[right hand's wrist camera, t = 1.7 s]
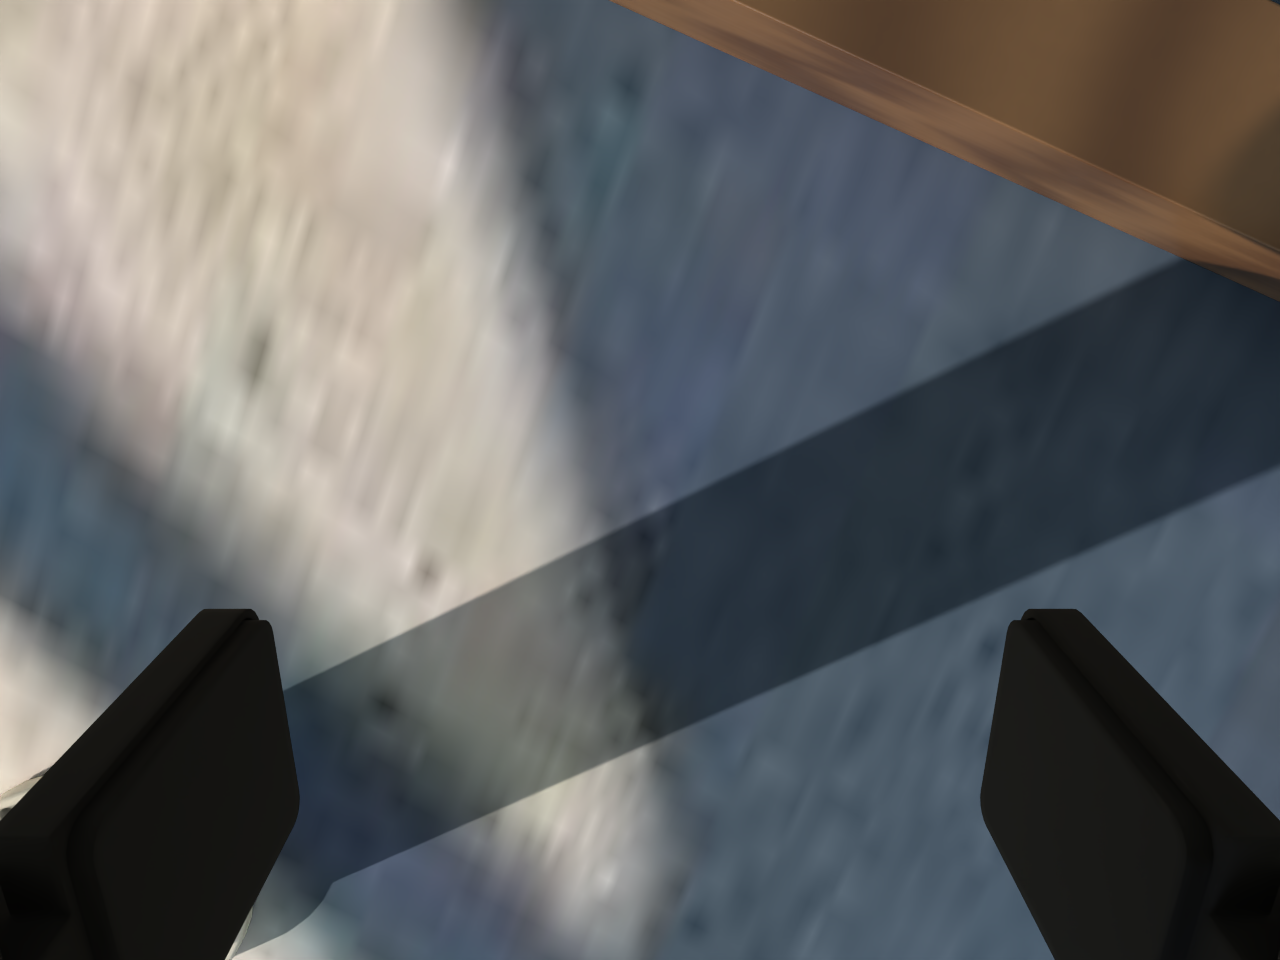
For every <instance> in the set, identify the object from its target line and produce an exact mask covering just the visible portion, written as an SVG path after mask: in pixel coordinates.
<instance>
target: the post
mask: <svg viewBox="0 0 1280 960" xmlns="http://www.w3.org/2000/svg"><path fill="white" fill-rule="evenodd" d="M610 1H612V2H614V3H616V4H619V5H621V6H623V7H625V8H627V9H630V10H632V11H634V12H636V13H639V14H641V15H643V16H645V17H647V18H650V19H652V20H654V21H656V22H659V23H661V24H663V25H665V26H667V27H670V28H672V29H674V30H676V31H679V32H681V33H683V34H685V35H687V36H690V37H692V38H694V39H696V40H699V41H701V42H703V43H705V44H707V45H710V46H712V47H714V48H716V49H719V50H721V51H723V52H725V53H727V54H730V55H732V56H734V57H736V58H739V59H741V60H743V61H745V62H748V63H750V64H752V65H754V66H756V67H759V68H761V69H763V70H765V71H768V72H770V73H772V74H774V75H776V76H779V77H781V78H783V79H785V80H788V81H790V82H792V83H794V84H796V85H799V86H801V87H803V88H805V89H808V90H810V91H812V92H814V93H816V94H819V95H821V96H823V97H825V98H828V99H830V100H832V101H834V102H836V103H839V104H841V105H843V106H845V107H848V108H850V109H852V110H854V111H856V112H859V113H861V114H863V115H865V116H868V117H870V118H872V119H874V120H876V121H879V122H881V123H883V124H885V125H888V126H890V127H892V128H894V129H897V130H899V131H901V132H903V133H905V134H908V135H910V136H912V137H914V138H917V139H919V140H921V141H923V142H925V143H928V144H930V145H932V146H934V147H937V148H939V149H941V150H943V151H945V152H948V153H950V154H952V155H954V156H957V157H959V158H961V159H963V160H965V161H968V162H970V163H972V164H974V165H977V166H979V167H981V168H983V169H985V170H988V171H990V172H992V173H994V174H997V175H999V176H1001V177H1003V178H1005V179H1008V180H1010V181H1012V182H1014V183H1017V184H1019V185H1021V186H1023V187H1026V188H1028V189H1030V190H1032V191H1034V192H1037V193H1039V194H1041V195H1043V196H1046V197H1048V198H1050V199H1052V200H1054V201H1057V202H1059V203H1061V204H1063V205H1066V206H1068V207H1070V208H1072V209H1074V210H1077V211H1079V212H1081V213H1083V214H1086V215H1088V216H1090V217H1092V218H1094V219H1097V220H1099V221H1101V222H1103V223H1106V224H1108V225H1110V226H1112V227H1114V228H1117V229H1119V230H1121V231H1123V232H1126V233H1128V234H1130V235H1132V236H1134V237H1137V238H1139V239H1141V240H1143V241H1146V242H1148V243H1150V244H1152V245H1154V246H1157V247H1159V248H1161V249H1163V250H1166V251H1168V252H1170V253H1172V254H1175V255H1177V256H1179V257H1181V258H1183V259H1186V260H1188V261H1190V262H1192V263H1195V264H1197V265H1199V266H1201V267H1203V268H1206V269H1208V270H1210V271H1212V272H1215V273H1217V274H1219V275H1221V276H1223V277H1226V278H1228V279H1230V280H1232V281H1235V282H1237V283H1239V284H1241V285H1243V286H1246V287H1248V288H1250V289H1252V290H1255V291H1257V292H1259V293H1261V294H1263V295H1266V296H1268V297H1270V298H1272V299H1275V300H1277V301H1279V302H1280V5H1279V4H1277V3H1275V2H1273V1H1271V0H610Z"/></svg>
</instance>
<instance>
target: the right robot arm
mask: <svg viewBox="0 0 1280 960" xmlns="http://www.w3.org/2000/svg"><path fill="white" fill-rule="evenodd" d="M299 800H300V796H299V787H298V781H297V775H296V769H295V763H294V757H293V751H292V745H291V739H290V733H289V727H288V720H287V714H286V708H285V702H284V696H283V690H282V684H281V678H280V672H279V666H278V659H277V653H276V647H275V641H274V635H273V630H272V627H271V625H270V623H269V622H268V621H267V620H259V618H258V616H257V615H256V613H255V612H254V611H253V610H252V609H204V610H202V611H201V612H199V613H198V614H197V615H196V616H195V617H194V618H193V619H192V620H191V621H190V623H189V624H188V625H187V626H186V627H185V628H184V629H183V630H182V631H181V632H180V633H179V634H178V635H177V636H176V637H175V638H174V639H173V640H172V641H171V642H170V643H169V645H168V646H167V647H166V648H165V649H164V650H163V651H162V652H161V653H160V654H159V655H158V656H157V657H156V658H155V659H154V660H153V661H152V662H151V663H150V664H149V665H148V666H147V668H146V669H145V670H144V671H143V672H142V673H141V674H140V675H139V676H138V677H137V678H136V679H135V680H134V681H133V682H132V683H131V684H130V685H129V686H128V687H127V688H126V690H125V691H124V692H123V693H122V694H121V695H120V696H119V697H118V698H117V699H116V700H115V701H114V702H113V703H112V704H111V705H110V706H109V707H108V708H107V709H106V710H105V712H104V713H103V714H102V715H101V716H100V717H99V718H98V719H97V720H96V721H95V722H94V723H93V724H92V725H91V726H90V727H89V728H88V729H87V730H86V731H85V732H84V733H83V735H82V736H81V737H80V738H79V739H78V740H77V741H76V742H75V743H74V744H73V745H72V746H71V747H70V748H69V749H68V750H67V751H66V752H65V753H64V754H63V755H62V757H61V758H60V759H59V760H58V761H57V762H56V763H55V764H54V765H53V766H52V767H51V768H50V769H49V770H48V771H47V772H46V773H45V774H44V775H43V776H41V777H37V778H34V779H31V780H27V781H25V782H23V783H21V784H20V785H18V786H16V787H14V788H12V789H10V790H8V791H7V792H5V793H4V794H3V795H2V796H0V960H232V958H233V957H234V956H235V954H236V952H237V950H238V948H239V946H240V944H241V942H242V940H243V939H244V937H245V935H246V932H247V929H248V926H249V923H250V921H251V918H252V911H253V904H254V902H255V900H256V899H257V897H258V895H259V893H260V891H261V889H262V887H263V885H264V883H265V881H266V879H267V877H268V875H269V873H270V871H271V869H272V867H273V865H274V863H275V861H276V860H277V858H278V856H279V854H280V852H281V850H282V848H283V846H284V844H285V842H286V840H287V838H288V836H289V834H290V832H291V830H292V828H293V826H294V824H295V822H296V819H297V815H298V810H299ZM980 800H981V810H982V815H983V819H984V822H985V824H986V826H987V828H988V830H989V832H990V834H991V836H992V838H993V840H994V842H995V844H996V846H997V848H998V850H999V852H1000V854H1001V856H1002V858H1003V860H1004V861H1005V863H1006V865H1007V867H1008V869H1009V871H1010V873H1011V875H1012V877H1013V879H1014V881H1015V883H1016V885H1017V887H1018V889H1019V891H1020V893H1021V895H1022V897H1023V899H1024V900H1025V902H1026V904H1027V906H1028V908H1029V910H1030V912H1031V914H1032V916H1033V918H1034V920H1035V922H1036V924H1037V926H1038V928H1039V930H1040V932H1041V934H1042V936H1043V937H1044V939H1045V941H1046V943H1047V945H1048V947H1049V949H1050V951H1051V953H1052V955H1053V957H1054V959H1055V960H1280V820H1279V819H1278V818H1277V817H1276V816H1275V815H1274V814H1273V813H1272V812H1271V811H1270V810H1269V809H1268V808H1267V807H1266V806H1265V805H1264V804H1263V803H1262V802H1261V800H1260V799H1259V798H1258V797H1257V796H1256V795H1255V794H1254V793H1253V792H1252V791H1251V790H1250V789H1249V788H1248V787H1247V786H1246V785H1245V784H1244V783H1243V782H1242V781H1241V780H1240V778H1239V777H1238V776H1237V775H1236V774H1235V773H1234V772H1233V771H1232V770H1231V769H1230V768H1229V767H1228V766H1227V765H1226V764H1225V763H1224V762H1223V761H1222V760H1221V759H1220V758H1219V757H1218V755H1217V754H1216V753H1215V752H1214V751H1213V750H1212V749H1211V748H1210V747H1209V746H1208V745H1207V744H1206V743H1205V742H1204V741H1203V740H1202V739H1201V738H1200V737H1199V736H1198V735H1197V733H1196V732H1195V731H1194V730H1193V729H1192V728H1191V727H1190V726H1189V725H1188V724H1187V723H1186V722H1185V721H1184V720H1183V719H1182V718H1181V717H1180V716H1179V715H1178V714H1177V713H1176V712H1175V710H1174V709H1173V708H1172V707H1171V706H1170V705H1169V704H1168V703H1167V702H1166V701H1165V700H1164V699H1163V698H1162V697H1161V696H1160V695H1159V694H1158V693H1157V692H1156V691H1155V690H1154V688H1153V687H1152V686H1151V685H1150V684H1149V683H1148V682H1147V681H1146V680H1145V679H1144V678H1143V677H1142V676H1141V675H1140V674H1139V673H1138V672H1137V671H1136V670H1135V669H1134V668H1133V667H1132V665H1131V664H1130V663H1129V662H1128V661H1127V660H1126V659H1125V658H1124V657H1123V656H1122V655H1121V654H1120V653H1119V652H1118V651H1117V650H1116V649H1115V648H1114V647H1113V646H1112V645H1111V643H1110V642H1109V641H1108V640H1107V639H1106V638H1105V637H1104V636H1103V635H1102V634H1101V633H1100V632H1099V631H1098V630H1097V629H1096V628H1095V627H1094V626H1093V625H1092V624H1091V623H1090V621H1089V620H1088V619H1087V618H1086V617H1085V616H1084V615H1083V614H1082V613H1081V612H1079V611H1078V610H1076V609H1028V610H1027V611H1026V612H1025V613H1024V615H1023V616H1022V618H1021V620H1013V621H1012V622H1011V623H1010V625H1009V627H1008V630H1007V635H1006V641H1005V647H1004V653H1003V659H1002V666H1001V672H1000V678H999V684H998V690H997V696H996V702H995V708H994V714H993V720H992V726H991V733H990V739H989V745H988V751H987V757H986V763H985V769H984V775H983V781H982V787H981V796H980Z"/></svg>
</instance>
